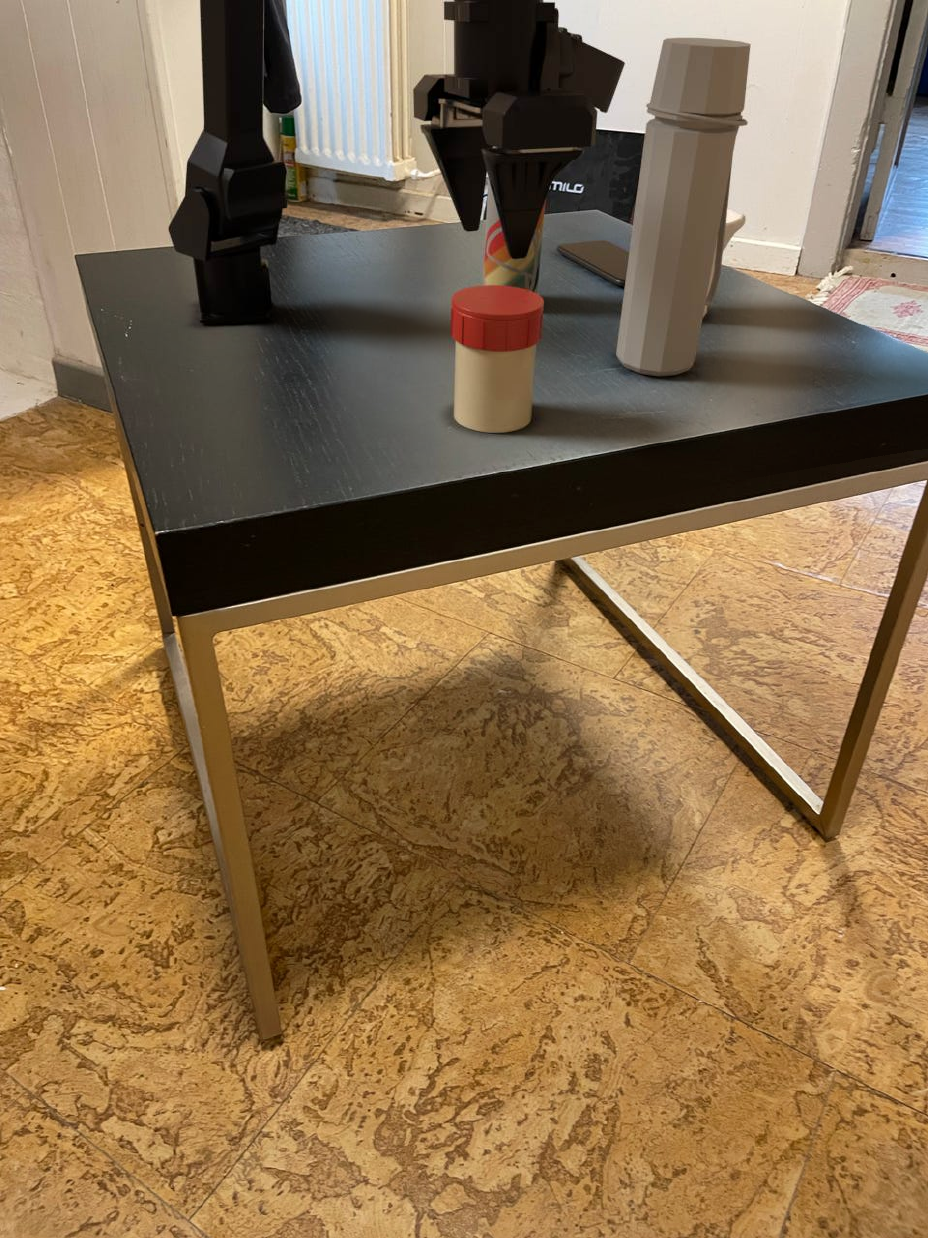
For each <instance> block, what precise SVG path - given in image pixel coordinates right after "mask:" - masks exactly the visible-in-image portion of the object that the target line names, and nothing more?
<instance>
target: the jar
mask: <svg viewBox="0 0 928 1238" xmlns="http://www.w3.org/2000/svg"><path fill="white" fill-rule="evenodd" d="M454 343H455V349H454V351H455V352H454V384H453V385H454V388H453V389H454V390H453V417H454V420H455V421H456V422H457V424H459V425H460V426H462V427H464V428H466V429H469V430H473V431H475V432H480V433H487V434H488V433H489V434H502V433H504V434H505V433H509V432H515V431H518V430H521V429H523V428H525V427H526V426H527V425H529V424H530V422H531V420H532V412H533V411H532V410H533V399H534V398H533V397H534V385H535V372H536V359H537V358H536V357H537V348H538V347H537V345H538V343H537V344H535V345H533V346H531V347H529V348H525V349H520V350H516V351H488V350H480V349H475V348H471V347H468V346H465V345H463V344H461V343H459V342H457V341H456V340H455V342H454Z"/></svg>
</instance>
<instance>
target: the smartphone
mask: <svg viewBox="0 0 928 1238" xmlns="http://www.w3.org/2000/svg"><path fill="white" fill-rule="evenodd" d="M555 249H556V252H557V253H559V254H561V255H562V256H564V257H566V258H567V259H569V260H571V261H573V262H575V263H577V264H578V265H580V266H582V267H584V268H585V269H587V270H589V271H590V272H593V273H594V274H596V275H598V276H599V277H601V278H603V279H605V280H607V281H608V282H610V283H612V284H613V285H616V286H618V287H623V288H625V282H626V275H627V267H628V260H629V252H630V250H626V249H625V248H622V247H621V246H618V245H617V244H615V243H612V242H611V241H609V240H604V239H601V240H600V239H599V240H598V239H597V240H589V241H588V240H587V241H579V242H570V243H561V244H558V245H556V248H555Z"/></svg>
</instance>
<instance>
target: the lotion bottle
mask: <svg viewBox="0 0 928 1238" xmlns="http://www.w3.org/2000/svg"><path fill="white" fill-rule="evenodd" d="M493 148H497V147H493ZM546 201H547V199H546V200H545V202H544V205H543V208H542V211H541V214H540V217H539V220H538V223H537V226H536V229H535V232H534V236H533V239H532V242H531V245H530V248H529V251H528V254H527V256H526V257H525V258H522V259H512V258H511V257H510V255H509V252H508V249H507V245H506V242H505V239H504V235H503V231H502V227H501V223H500V220H499V216H498V212H497V208H496V204H495V200H494V196H493V192H492V188H491V185H490V181H489V179H488V183H487V199H486V217H485V219H486V220H485V236H484V253H483V273H482V286H483V285H502V286H512V287H518V288H522V289H526V290H529V291H532V292H534V293H536V294H538V290H539V281H540V271H541V270H540V269H541V258H542V248H543V234H544V224H545V223H544V222H545V214H546V203H547V202H546Z"/></svg>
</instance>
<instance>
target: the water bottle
mask: <svg viewBox="0 0 928 1238" xmlns="http://www.w3.org/2000/svg"><path fill="white" fill-rule="evenodd" d="M751 45H752V44H751V43H749V42H744V41H740V40H733V39H731V40H730V39H722V38H707V37H706V38H705V37H667V38H665V39H664V40H663V41H662V45H661V49H660V55H659V59H658V62H657V68H656V73H655V77H654V82H653V86H652V92H651V96H650V100H649V103H646V105H645V107H646V108H647V109H646V113H647V114H649V115H651V116H654V118H652V119H651V118H650V120H648V121H647V122H646V124H645V130H644V138H643V146H642V153H641V162H640V169H639V178H638V185H637V192H636V199H635V200H636V201H635V207H634V214H633V222H632V229H631V237H630V245H629V260H628V267H627V275H626V282H625V287H624V290H623V299H622V305H621V306H622V307H621V314H620V322H619V327H618V337H617V343H616V344H617V345H616V351H615V352H616V353H615V356H616V357H617V359H618V361H619V362H620V364H622V366H623V367H625V368H626V369H627V370H630V371H633V372H635V373H638V374H640V375H645V376H652V377H673V376H677V375H680V374H683V373H685V372H688V371H689V370H691V368H693V366H694V364H695V360H696V356H697V350H698V346H699V340H700V335H701V330H702V325H703V324H702V323H703V319H704V317H703V314H704V308H705V305H707V306H709V305H713V302H714V299H715V296H716V294H717V290H718V286H719V282H720V279H721V274H722V267H723V255H724V251H723V246H724V236H725V226H726V217H727V209H728V207H729V197H730V187H731V176H732V166H733V157H734V149H735V145H736V141H737V140H736V139H737V135H738V132H739V129H740V127H743V126H747V125H748V123H749V122H748V121H747V119H744V118H743V117H744V116H743V115H742V112H743V111H744V110H745V104H746V94H747V85H748V74H749V64H750V54H751ZM717 237H718V240H717ZM716 243H717V249H716V258H715V268H714V274H713V278H712V282H711V287H710V290H709V293H708V295H707V292H708V286H709V281H710V275H711V270H712V265H713V259H714V254H715V248H716ZM706 297H707V298H706Z"/></svg>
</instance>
